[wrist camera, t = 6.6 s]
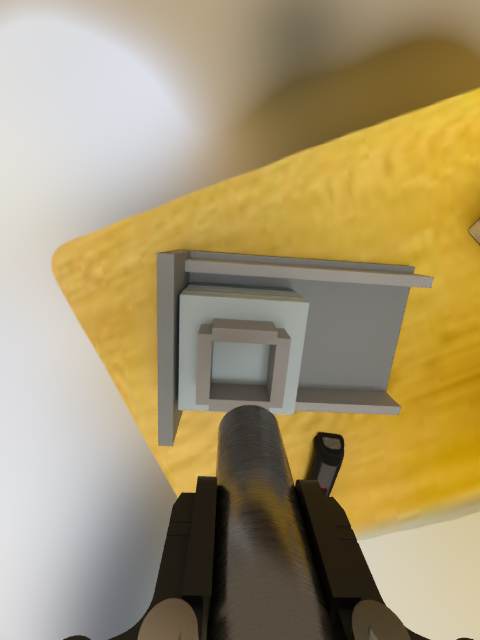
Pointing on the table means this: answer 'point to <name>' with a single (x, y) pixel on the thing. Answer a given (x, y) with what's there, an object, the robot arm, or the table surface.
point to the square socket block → (240, 347)
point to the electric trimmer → (327, 460)
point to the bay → (321, 329)
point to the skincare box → (475, 231)
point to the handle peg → (261, 540)
